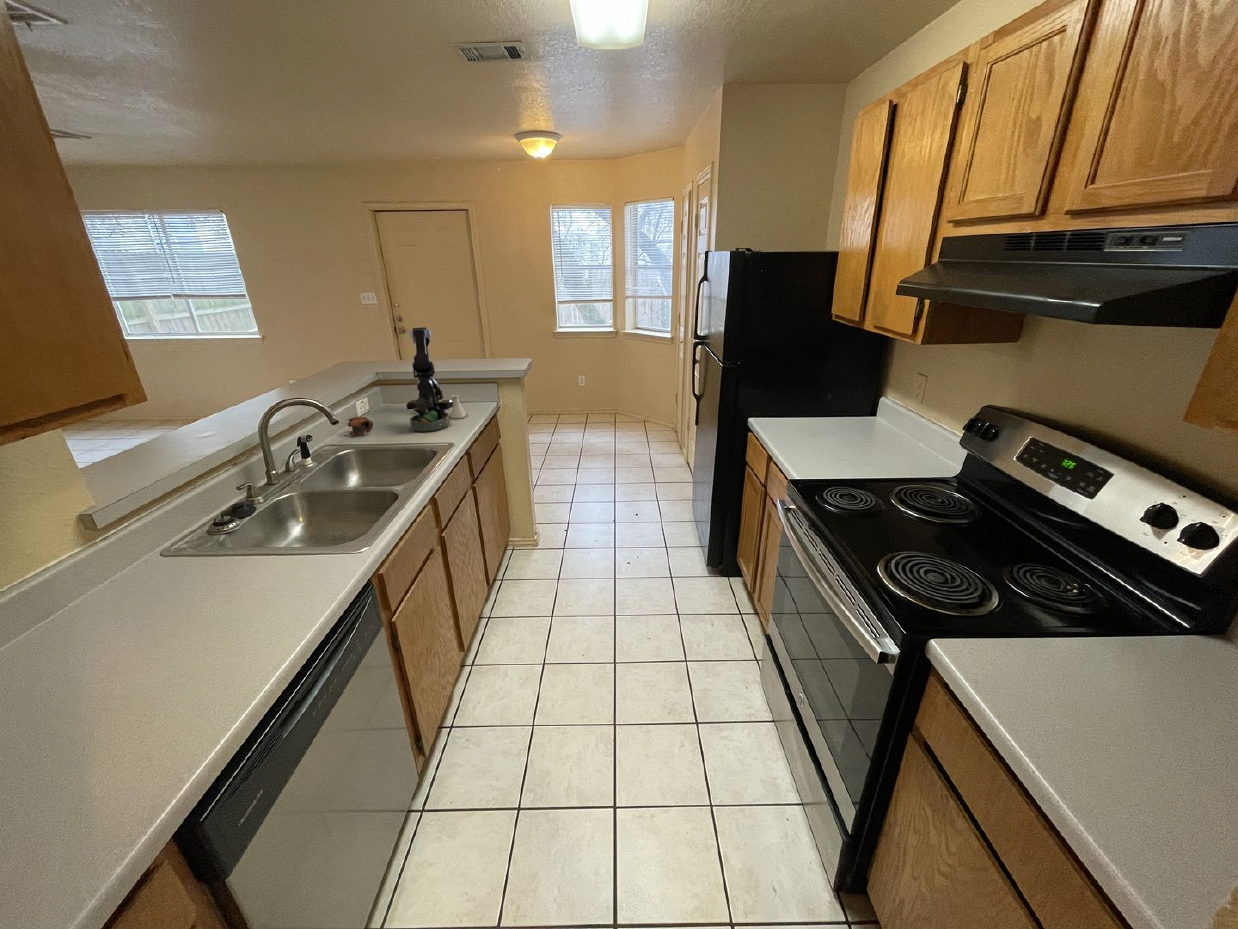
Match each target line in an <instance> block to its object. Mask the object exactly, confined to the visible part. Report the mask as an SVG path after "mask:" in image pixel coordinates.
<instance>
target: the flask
mask: <svg viewBox="0 0 1238 929" xmlns="http://www.w3.org/2000/svg"><path fill="white" fill-rule="evenodd" d="M459 397H460V396H459V394H453V395H451V398H452V402H453V406H452V407H451V413H450V419H463V418H465V417H467V414H466V412H465V410H464V408H463V406H462V404H461V403H460V399H459Z"/></svg>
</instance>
